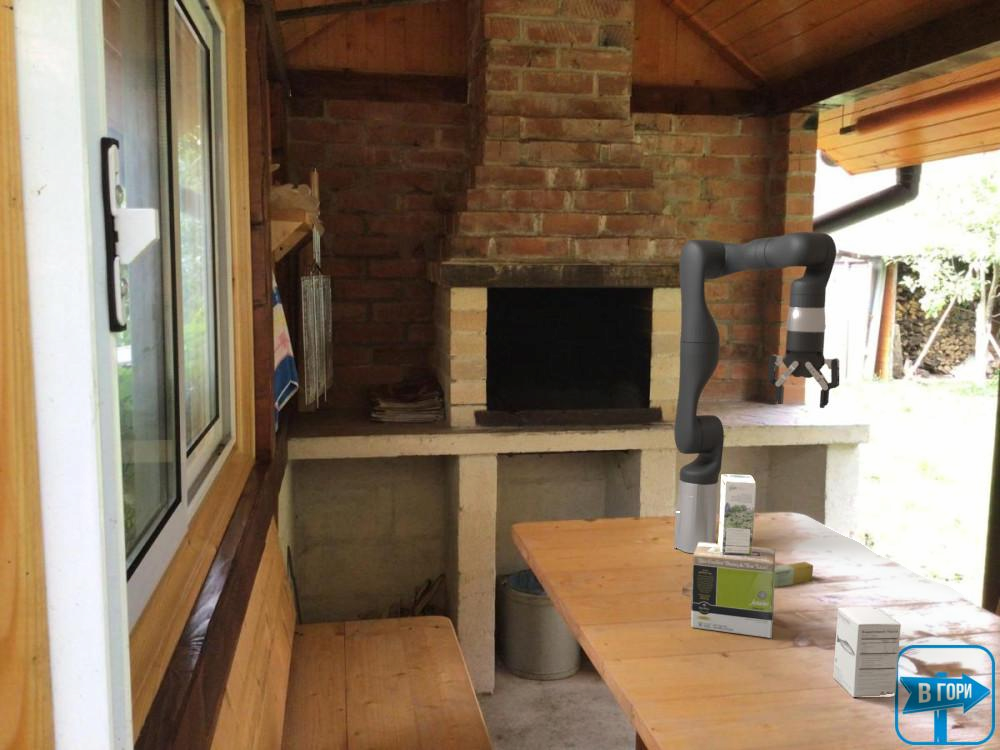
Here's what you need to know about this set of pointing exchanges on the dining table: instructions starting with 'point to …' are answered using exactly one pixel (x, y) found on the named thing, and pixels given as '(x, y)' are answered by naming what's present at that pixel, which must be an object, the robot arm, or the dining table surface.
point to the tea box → (733, 590)
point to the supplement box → (866, 651)
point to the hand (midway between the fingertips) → (801, 405)
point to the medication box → (793, 574)
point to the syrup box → (736, 514)
